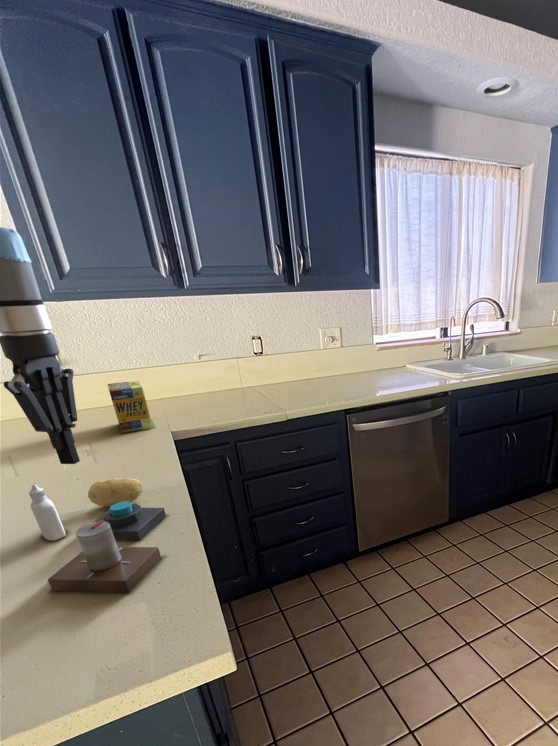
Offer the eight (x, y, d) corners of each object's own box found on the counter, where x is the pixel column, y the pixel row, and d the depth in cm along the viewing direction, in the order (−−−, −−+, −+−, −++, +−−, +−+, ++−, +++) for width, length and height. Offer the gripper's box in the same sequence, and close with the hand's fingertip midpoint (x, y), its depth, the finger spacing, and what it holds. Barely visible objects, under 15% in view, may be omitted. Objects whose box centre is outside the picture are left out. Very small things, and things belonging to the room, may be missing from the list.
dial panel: (52, 591, 73) (46, 578, 72) (92, 557, 82) (88, 545, 81) (129, 592, 72) (125, 580, 71) (161, 558, 81) (158, 546, 80)
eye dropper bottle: (68, 526, 93) (48, 477, 88) (65, 538, 89) (44, 487, 84) (44, 532, 92) (22, 481, 87) (40, 544, 87) (16, 492, 82)
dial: (109, 571, 74) (95, 535, 71) (82, 570, 74) (67, 534, 71) (127, 554, 78) (115, 520, 75) (102, 553, 79) (89, 519, 76)
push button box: (85, 539, 88) (78, 523, 87) (116, 515, 97) (110, 500, 96) (140, 540, 87) (134, 523, 86) (166, 516, 96) (161, 500, 95)
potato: (97, 501, 104) (88, 478, 101) (147, 493, 108) (140, 470, 105) (90, 514, 98) (81, 489, 96) (144, 504, 102) (136, 480, 99)
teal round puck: (107, 517, 89) (105, 510, 88) (119, 508, 93) (117, 501, 92) (125, 517, 89) (123, 510, 88) (137, 508, 92) (135, 501, 92)
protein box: (121, 433, 153) (108, 391, 147) (119, 423, 165) (107, 383, 159) (153, 428, 158) (142, 386, 152) (149, 418, 170) (138, 379, 164)
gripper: (35, 329, 78) (76, 450, 88) (-32, 337, 66) (24, 476, 76) (74, 329, 77) (111, 450, 87) (14, 337, 66) (64, 476, 76)
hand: (70, 462), depth 82 cm, fingers closed
